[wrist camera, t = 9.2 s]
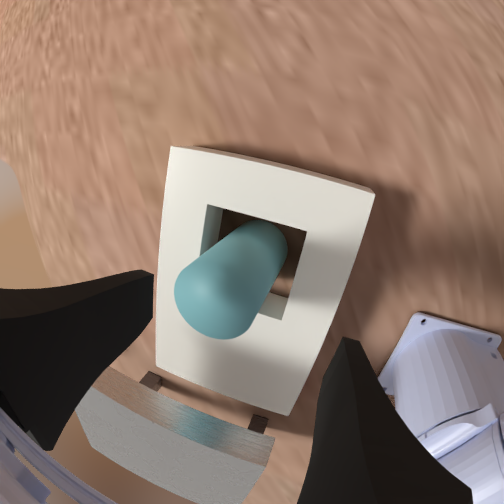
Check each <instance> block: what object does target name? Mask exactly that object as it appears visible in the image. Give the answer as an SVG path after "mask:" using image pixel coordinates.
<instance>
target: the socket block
mask: <svg viewBox="0 0 504 504" xmlns="http://www.w3.org/2000/svg"><path fill="white" fill-rule="evenodd" d="M374 198H375V193H374V192H373V191H372V190H371V189H370V188H368V187H365V186H362V185H358V184H355V183H352V182H348V181H345V180H342V179H338V178H335V177H331V176H328V175H324V174H320V173H317V172H313V171H309V170H305V169H301V168H298V167H294V166H289V165H285V164H281V163H277V162H273V161H268V160H264V159H259V158H255V157H250V156H245V155H241V154H236V153H231V152H225V151H220V150H215V149H209V148H204V147H198V146H171V150H170V156H169V163H168V171H167V178H166V186H165V194H164V203H163V212H162V223H161V234H160V246H159V260H158V277H157V300H156V366H157V367H159V368H161V369H164V370H166V371H168V372H170V373H172V374H174V375H177V376H179V377H181V378H183V379H186V380H188V381H190V382H193V383H195V384H198V385H200V386H202V387H205V388H207V389H210V390H212V391H215V392H217V393H220V394H223V395H225V396H228V397H231V398H233V399H236V400H239V401H242V402H245V403H248V404H251V405H254V406H257V407H260V408H263V409H266V410H269V411H272V412H275V413H279V414H282V415H285V416H289V414H290V412H291V410H292V408H293V406H294V404H295V402H296V400H297V398H298V396H299V394H300V392H301V390H302V388H303V386H304V384H305V382H306V379H307V377H308V375H309V373H310V371H311V369H312V367H313V364H314V362H315V360H316V358H317V355H318V353H319V351H320V349H321V346H322V344H323V342H324V339H325V337H326V335H327V332H328V330H329V327H330V325H331V323H332V320H333V318H334V315H335V313H336V310H337V308H338V305H339V302H340V300H341V297H342V295H343V292H344V289H345V287H346V284H347V281H348V278H349V276H350V273H351V270H352V267H353V264H354V261H355V259H356V256H357V253H358V250H359V247H360V244H361V241H362V237H363V234H364V231H365V228H366V225H367V222H368V218H369V215H370V212H371V208H372V205H373V201H374ZM223 208H225V209H228V210H232V211H236V212H240V213H243V214H247V215H251V216H254V217H258V218H262V219H265V220H269V221H273V222H276V223H280V224H283V225H287V226H290V227H294V228H297V229H301V230H304V231H307V235H306V239H305V242H304V246H303V249H302V253H301V257H300V260H299V264H298V267H297V271H296V274H295V278H294V281H293V284H292V288H291V291H290V295H289V298H286V297H282V296H279V295H276V294H273V293H270V292H269V293H268V295H267V297H266V298H265V300H264V302H263V304H262V306H261V308H260V310H259V312H258V313H257V315H256V317H255V319H254V321H253V323H252V325H251V326H250V328H249V329H248V330H247V331H246V332H245V333H243V334H242V335H240V336H238V337H236V338H233V339H224V340H222V339H215V338H211V337H208V336H205V335H203V334H201V333H199V332H198V331H196V330H195V329H194V328H192V327H191V326H190V325H189V324H188V323H187V322H186V321H185V319H184V318H183V317H182V315H181V314H180V312H179V310H178V308H177V305H176V302H175V298H174V286H175V282H176V279H177V277H178V275H179V274H180V272H181V271H182V270H183V269H184V268H185V267H187V266H188V265H189V264H191V263H192V262H193V261H194V260H196V259H197V258H198V257H200V256H201V255H202V254H204V253H205V252H206V251H207V250H209V249H210V248H211V247H213V246H214V245H215V244H217V243H218V238H219V232H220V226H221V220H222V214H223Z"/></svg>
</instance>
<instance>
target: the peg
mask: <svg viewBox="0 0 504 504" xmlns="http://www.w3.org/2000/svg"><path fill="white" fill-rule="evenodd" d="M287 253H288V247H287V242H286V239H285V237H284V235H283V233H282V232H281V231H280V230H279V229H278V228H277V227H276V226H275V225H273V224H272V223H270V222H267V221H264V220H251V221H247V222H245V223H243V224H242V225H240V226H239V227H238V228H236V229H235V230H234V231H232V232H231V233H230V234H229V235H227V236H226V237H225V238H223V239H222V240H221V241H219V242H218V243H217V244H215V245H214V246H213V247H211V248H210V249H209V250H207V251H206V252H205V253H204V254H202V255H201V256H200V257H198V258H197V259H196V260H194V261H193V262H192V263H191V264H189V265H188V266H187V267H185V268H184V269H183V270H182V271H181V272H180V274H179V275H178V277H177V279H176V282H175V286H174V298H175V302H176V305H177V308H178V310H179V312H180V314H181V315H182V317H183V318H184V319H185V321H186V322H187V323H188V324H189V325H190V326H191V327H192V328H194V329H195V330H196V331H198V332H199V333H201V334H203V335H205V336H208V337H211V338H215V339H222V340H224V339H233V338H236V337H238V336H240V335H242V334H243V333H245V332H246V331H247V330H248V329H249V328H250V326H251V325H252V323H253V321H254V319H255V317H256V315H257V313H258V312H259V310H260V308H261V306H262V304H263V302H264V300H265V298H266V297H267V295H268V293H269V291H270V289H271V287H272V285H273V283H274V281H275V280H276V278H277V276H278V274H279V272H280V270H281V268H282V266H283V264H284V262H285V260H286V257H287Z"/></svg>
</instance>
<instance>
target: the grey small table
mask: <svg viewBox="0 0 504 504" xmlns="http://www.w3.org/2000/svg"><path fill="white" fill-rule="evenodd" d="M160 388H161V377H160V376H157V375H155V374H153V373H151V372H149V371H148V373H147V374H146V375H145V376H144V377H143V378H142V379H141V381H140V382H137V381H135V380H133V379H131V378H129V377H127V376H126V375H124V374H122V373H120V372H118V371H117V370H115V369H113V368H112V367H110V366H108V367H107V368H106V369H105V370H104V371H103V373H102V374H101V375H100V376H99V377H98V378H97V380H96V381H95V382H94V383H93V385H92V386H91V387H90V389H89V390H88V391H87V393H86V394H85V395H84V397H83V398H82V400H81V401H80V403H79V404H78V406H77V407H76V409H75V411H76V413H77V416H78V418H79V420H80V422H81V425H82V427H83V429H84V432H85V434H86V436H87V438H88V440H89V442H90V444H91V446H92V447H93V448H94V449H96V450H97V451H99V452H100V453H102V454H103V455H105V456H106V457H108V458H109V459H111V460H113V461H114V462H116V463H118V464H119V465H121V466H122V467H124V468H126V469H128V470H130V471H131V472H133V473H135V474H137V475H139V476H140V477H142V478H144V479H146V480H148V481H150V482H152V483H154V484H156V485H158V486H160V487H162V488H164V489H166V490H168V491H170V492H172V493H175V494H177V495H179V496H181V497H184V498H186V499H188V500H191V501H193V502H196V503H199V504H241V503H242V502H243V501H244V499H245V498H246V496H247V495H248V493H249V492H250V490H251V489H252V488H253V486H254V485H255V483H256V482H257V480H258V478H259V477H260V475H261V474H262V472H263V471H264V469H265V468H266V465H267V462H268V459H269V456H270V453H271V450H272V447H273V444H274V441H275V438H274V437H270V436H267V435H264V434H263V433H264V431H265V428H266V425H267V422H268V419H266V418H263V417H260V416H257V415H254V414H253V417H252V419H251V422H250V424H249V427H248V429H245V428H242V427H240V426H237V425H234V424H231V423H228V422H226V421H223V420H220V419H218V418H215V417H213V416H210V415H208V414H205V413H203V412H200V411H198V410H196V409H193V408H191V407H189V406H186V405H184V404H182V403H180V402H177V401H175V400H173V399H171V398H169V397H167V396H164V395H162V394H160V393H158V392H157V391H158V390H159V389H160Z"/></svg>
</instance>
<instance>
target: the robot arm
mask: <svg viewBox="0 0 504 504" xmlns="http://www.w3.org/2000/svg"><path fill="white" fill-rule="evenodd" d="M153 283H154V274H151V273H149V272H146V271H144V270H134V271H129V272H125V273H120V274H116V275H112V276H108V277H104V278H99V279H95V280H91V281H86V282H81V283H76V284H72V285H66V286H60V287H52V288H42V289H1V288H0V504H48V503H47V502H45V500H46V498H47V497H48V496H49V495H50V493H51V491H50V490H49V489H48V488H47V487H46V486H45V485H44V484H43V483H42V482H40V481H39V480H38V479H37V478H36V477H35V476H34V475H33V474H32V473H31V472H30V471H29V469H28V468H27V467H26V466H25V465H24V464H23V463H22V462H21V461H20V460H19V459H18V458H17V457H16V456H15V455H14V452H15V450H14V448H15V449H16V450H17V451H18V452H19V453H20V454H21V455H22V456H23V457H24V458H25V459H26V460H27V461H28V462H30V464H32V465H33V466H34V467H35V468H36V469H37V470H38V471H39V472H40V473H42V474H43V475H44V476H45V477H46V478H47V479H48V480H50V481H51V482H52V483H53V484H54V485H56V486H57V487H58V488H59V489H61V490H62V491H63V492H65V493H66V494H67V495H68V496H70V497H71V498H72V499H74V500H75V501H77V502H78V503H79V504H117V503H115V502H114V501H112V500H111V499H109V498H107V497H106V496H104V495H102V494H101V493H99V492H98V491H96V490H95V489H93V488H92V487H90V486H89V485H87V484H86V483H85V482H83V481H82V480H80V479H79V478H77V477H76V476H75V475H74V474H72V473H71V472H70V471H68V470H67V469H66V468H64V467H63V466H62V465H61V464H59V463H58V462H57V461H56V460H54V459H53V458H52V457H51V456H50V455H48V454H47V453H46V452H45V451H51V450H53V448H54V446H55V444H56V442H57V440H58V438H59V436H60V434H61V432H62V430H63V428H64V427H65V425H66V423H67V422H68V420H69V418H70V416H71V415H72V413H73V412H74V410H75V409H76V407H77V406H78V404H79V403H80V401H81V400H82V398H83V397H84V395H85V394H86V393H87V391H88V390H89V389H90V387H91V386H92V385H93V383H94V382H95V381H96V380H97V378H98V377H99V376H100V375H101V374H102V373H103V371H104V370H105V369H106V368H107V367H108V366H109V365H110V364H111V363H112V362H113V361H114V360H115V359H116V358H117V357H118V356H119V355H120V354H121V353H122V352H123V351H125V350H126V349H127V348H128V347H129V346H130V345H131V344H132V343H133V342H134V341H135V340H136V338H137V337H138V336H139V335H140V334H141V333H142V331H143V330H144V329H145V328H146V326H147V325H148V323H149V322H150V321H151V319H152V318H153ZM423 319H426V321H425V322H421V321H422V320H423ZM488 338H490V339H488ZM501 340H502V338H501V336H500V335H498V334H494V333H491V332H487V331H484V330H480V329H476V328H473V327H469V326H466V325H462V324H459V323H455V322H452V321H448V320H445V319H441V318H438V317H434V316H431V315H427V314H424V313H420V312H417V313H415V314H413V316H412V317H411V319H410V321H409V323H408V325H407V327H406V329H405V331H404V333H403V335H402V337H401V338H400V340H399V342H398V344H397V346H396V347H395V349H394V351H393V353H392V354H391V356H390V358H389V360H388V361H387V363H386V365H385V366H384V368H383V370H382V371H381V373H380V375H379V376H378V378H377V376H376V374H375V372H374V370H373V368H372V366H371V364H370V362H369V360H368V358H367V356H366V354H365V352H364V350H363V348H362V346H361V344H360V342H359V341H357V340H353V339H350V338H346V337H342V340H341V342H340V344H339V346H338V348H337V350H336V352H335V355H334V357H333V359H332V361H331V363H330V365H329V367H328V369H327V371H326V373H325V375H324V377H323V380H322V385H321V389H320V393H319V398H318V403H317V412H316V421H315V429H314V437H313V445H312V452H311V457H310V462H309V466H308V470H307V473H306V477H305V480H304V484H303V487H302V490H301V493H300V496H299V499H298V502H297V504H504V360H503V358H502V356H501V355H500V353H499V351H498V349H497V348H498V346H499V344H500V343H501ZM383 387H386V388H383ZM386 394H389V395H394V398H395V408H396V410H395V408H394V406H393V405H392V403H391V401H390V400H389V398H388V396H387V395H386ZM18 426H19V427H20V428H21V429H20V428H19V427H18ZM23 431H24V432H25V433H26V434H27V435H28V436H29V437H28V436H27V435H26V434H25V433H24V432H23ZM39 446H40V447H41V448H40V447H39ZM44 450H45V451H44Z"/></svg>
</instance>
